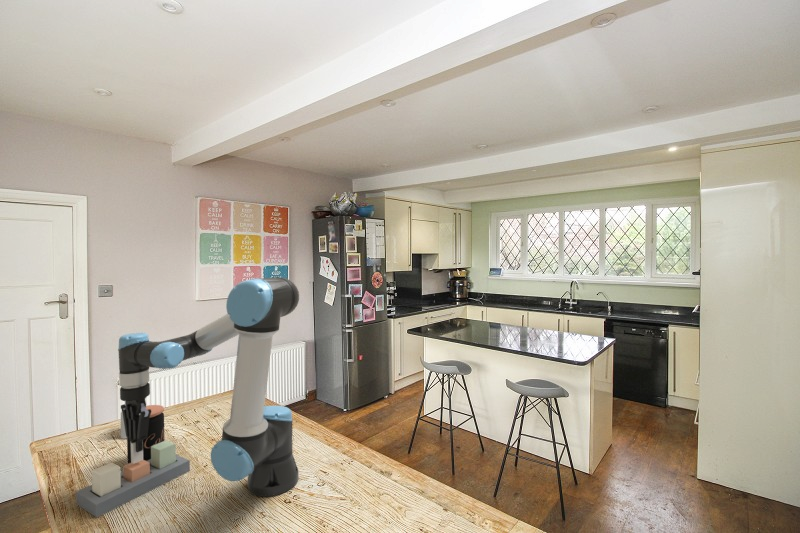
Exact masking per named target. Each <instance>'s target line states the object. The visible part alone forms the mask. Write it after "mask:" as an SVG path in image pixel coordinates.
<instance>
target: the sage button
mask: <svg viewBox="0 0 800 533" xmlns="http://www.w3.org/2000/svg"><path fill="white" fill-rule="evenodd" d="M176 449H177V448H176V443H175V442H173V441H170V440H167V439H165V441H163V442H161V443H158V444H156V445H153V446H151V465H153V466H155V467H157V468H159V469H161V468H163V467H165V466H168V465H170V464H172V463H174V462H176V455H177V453H176V452H177V451H176Z"/></svg>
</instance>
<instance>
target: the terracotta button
mask: <svg viewBox="0 0 800 533" xmlns="http://www.w3.org/2000/svg"><path fill="white" fill-rule="evenodd" d="M122 471H123V478H124V479H125V480H127V481H129V482H131V483H132V482H134V481H136V480H138V479H140V478H142V477H144V476H147V475H149V474H150V463H149V462H147V461H145V460H141V461H139V462H137V463H134V464H133V463H129V464H128V463H127V464H125V465H123V469H122Z"/></svg>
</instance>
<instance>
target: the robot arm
mask: <svg viewBox="0 0 800 533" xmlns="http://www.w3.org/2000/svg"><path fill="white" fill-rule="evenodd" d="M299 302H300V292H299V289H298V287H297V286H296V284H295V283H294V282H293V281H292V280H291V279H288V278H286V277H283V276H282V277H281V276H276V277H275V276H274V277H264V278H262V277H261V278H251V279H248V280H243V281H241V282H239V283H237V284H236V285H234V286H233V287H232V289H231V290H230V292H229V294H228V296H227V299H226V307H225V308H226V312H227V313H226V314H225V315H223V316H221V317H218V318H217V319H215V320H214V321H211V322H210V323H208V324H206V325H204V326H203V327H201V328H199V329H197V330H195V331H194V332H192V333H189V334H187V335H183V336H179V337H178V336H177V337H174V338H170V339H166V340H162V341H150V338H149V334H148V333H147V332H135V333H127V334H123V335H121V336H120V337H119V339H118V349H117V351H118V366H119V367H118V368H119V373H118V374H119V375H118V378H119V379H118V381H119V387H120V388H119V399H120V400H121V401H122V402H124V404H121V405H120V409H121V411H122V413H123V419H124V426H125V433H126V437H129V440H130V441H131V463H133V464H134V463H137V462H139V461H141V460H143V440H144V439H146V438H147V436H148V427H149V418H150V414H151V409H149V410H147V409H146V406H147V402H146V398H147V397H149V396H150V394H151V385H150V383H149V382H150V373H151V370H150V368H155V369H161V370H166V369H174V368H176V367H178V366H179V365H180V364H181V363H182V362H183V361H186V360H189V359H192V358H196V357H200V356H203V355H206V354H208V353H209V352H211V351H212V350H213V349H214V348H215V347H217V346H220V345H221V344H223V343H225V342H227V341H229V340H231V339H233V338H235V337H237V336H238V340H237V351H236V360H235V368H234V378H233V379H234V380H233V388H232V397H231V406H230V407H231V408H230V414H229V415H230V416H229V418H228V420H226V421H225V422H224V423H223V426H222V433H221V434H222V435H221V440H218V441H216V443H215V444H214V446H213V447H212V448H211V450H210V462H211V465H212V467H213V469H214V470H215V472H216V473H217V474H218V475H219V476H220V477H221V478H223V479H224V480H227V481H229V482H239V481H241V480H243V479H245V478H246V477H247V481H246V482H247V490H248V492H249V493H250V494H252V495H254V496H258V497H271V496H272V497H273V496H279V495H280V494H284V493H286V492H288V491H290V490H291V489H292V488H294V487H295V486H296V485H297V483H298V482H299V477H300V475H299V468H298V465H297V462H296V460H295V457H294V454H293V421H294V420H293V412H292V410H291V409H290V408H289V407H287V406H283V405H266V395H267V386H268V379H269V371H270V370H269V369H270V360H271V352H272V351H271V350H272V344H273V336H274V335H275V334H276V333H277V332H279V330H280V326H281V325H280V324H281V318H282V317H285V316H287V315H290V314H292V313H293V311H295V309H297V307H298V304H299ZM265 405H266V406H265Z"/></svg>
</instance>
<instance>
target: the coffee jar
mask: <svg viewBox="0 0 800 533" xmlns="http://www.w3.org/2000/svg"><path fill="white" fill-rule="evenodd" d="M146 409H147V410H149V409H151V414H150V418H149V427H148V436H147V438H146V439H144V440H143V460H145V461H148V460H150V459H151V446H153V445H156V444H158V443H161V442H163V441H166V439H165V414H164V410H165V406H163V405H161V404H151V405H146ZM126 444H127V446H126V449H127V452H126V453H127V464H129V463H131V441H130V440H129V437H127V439H126Z"/></svg>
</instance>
